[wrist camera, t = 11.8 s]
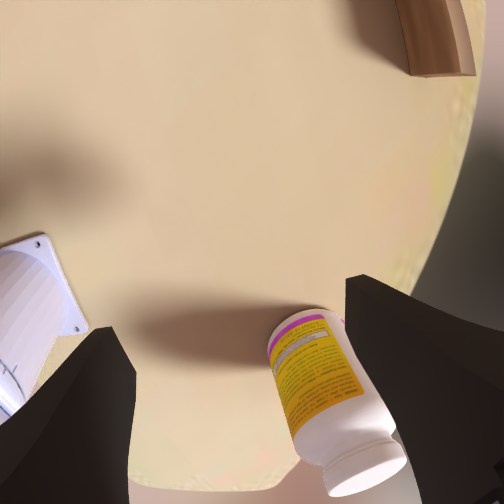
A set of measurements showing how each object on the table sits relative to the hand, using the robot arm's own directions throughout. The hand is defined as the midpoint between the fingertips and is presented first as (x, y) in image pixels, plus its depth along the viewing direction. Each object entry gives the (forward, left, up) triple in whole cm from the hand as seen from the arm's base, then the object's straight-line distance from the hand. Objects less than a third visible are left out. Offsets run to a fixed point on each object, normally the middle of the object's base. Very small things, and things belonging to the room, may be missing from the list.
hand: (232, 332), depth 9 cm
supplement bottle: (+5, -11, -11) cm, 16 cm away
